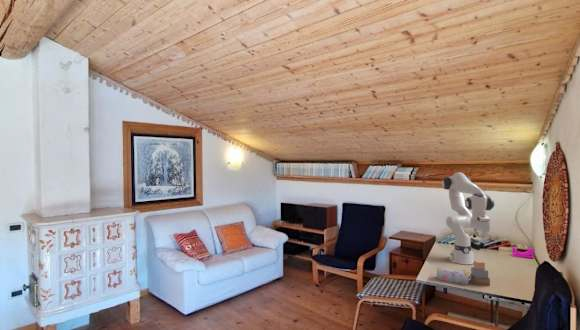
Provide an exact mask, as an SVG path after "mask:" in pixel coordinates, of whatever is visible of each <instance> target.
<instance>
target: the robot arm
mask: <svg viewBox="0 0 580 330" xmlns="http://www.w3.org/2000/svg"><path fill="white" fill-rule="evenodd" d="M441 186H442V189H444V190H446V191H447V190H448V198H449V204H450V207H451V209H452V210H453V211H454V212H456V213H458V214H457V215H455V214H453V215H449V216H447V217H446V219H445V224H446V227H448V228H449V229H450V230H451V231H452V232H453V234H454V240H455V241H454V242H455V244H454V249H453V250H451V252H450V254H449V255H450V256H448V259H449V260H450V262H451V263H454V264H460V265H474V261H475V259H474V252H473V251H472V247H471V242H470V239H471V236H470V234H468V233H467V232H465V231H464V229H473V232H474V235H475V236H478V235H479V232H478V231H480V232H481V234H480V238H481V239H485V238H486V234H488V233H490V228H491V227H490V224H491V223H490V222H491V218H490V217H489V216H488V214H487V211H491V210H492V209H494V207H495V201H494V200H493V197H491V196H490V195H488V194H487V193H486V192H485V191H484V190H483V189H482V187H480V186H478V185H477V184H474V183H473V182H472V180H471V178H470V176H469V175H466V174H464V173H463V172H460V171H458V172H455V173H453V175H452V176H446V177H443V178H442V179H441ZM464 194H470V195H472V196H469V197H466V198H465V197H464ZM471 211H472V212H471Z"/></svg>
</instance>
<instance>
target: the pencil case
mask: <svg viewBox="0 0 580 330" xmlns="http://www.w3.org/2000/svg"><path fill="white" fill-rule="evenodd" d="M469 272H470V271H468V270H466V269H463V270H451V269H448V268H444V267H437V268H436V280H439V281H443V282H444V281H445V282H448V281H449V282H450V283H455V284H460V283H461V284H462V285H466V286H468V284H469V281H470V274H469Z"/></svg>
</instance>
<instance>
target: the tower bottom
mask: <svg viewBox="0 0 580 330" xmlns="http://www.w3.org/2000/svg"><path fill="white" fill-rule="evenodd" d="M469 276H470V279H469V281H471V282H472V283H473V284H474V285H476V286H491V278H489V277H488V278H475V277H474V276H473V275H472V274H471V273H470V274H469Z"/></svg>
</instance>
